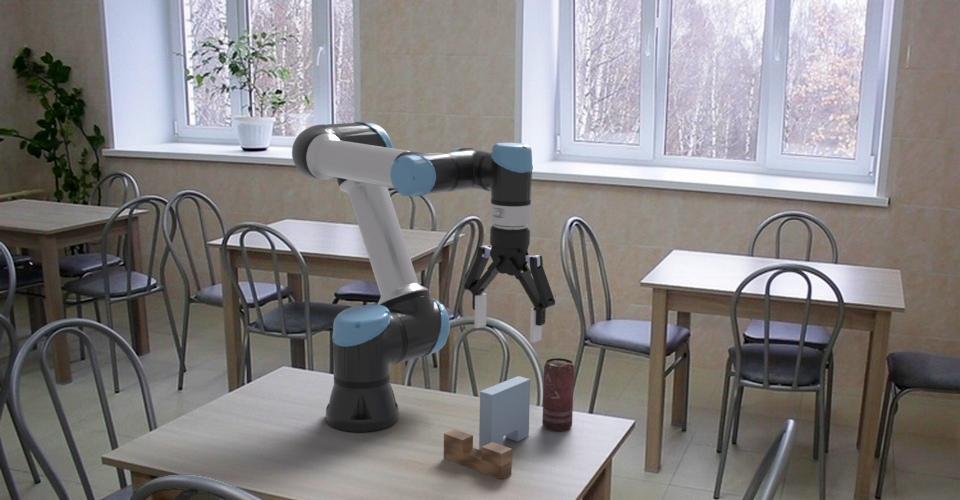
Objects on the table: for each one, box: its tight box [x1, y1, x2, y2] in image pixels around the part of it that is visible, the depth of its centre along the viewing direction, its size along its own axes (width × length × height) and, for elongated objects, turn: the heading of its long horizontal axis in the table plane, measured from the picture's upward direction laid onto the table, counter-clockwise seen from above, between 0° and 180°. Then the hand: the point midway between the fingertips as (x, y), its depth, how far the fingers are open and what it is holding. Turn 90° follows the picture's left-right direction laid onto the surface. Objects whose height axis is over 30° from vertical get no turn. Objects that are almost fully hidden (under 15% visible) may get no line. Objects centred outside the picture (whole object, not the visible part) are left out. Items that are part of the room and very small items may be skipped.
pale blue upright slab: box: [478, 375, 531, 451], centre depth 193 cm, size 3×12×12 cm, turn 140°
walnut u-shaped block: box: [443, 428, 513, 480], centre depth 183 cm, size 14×3×5 cm, turn 50°
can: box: [542, 357, 576, 432], centre depth 201 cm, size 6×6×14 cm
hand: (507, 333), depth 190 cm, fingers open, 13 cm apart
